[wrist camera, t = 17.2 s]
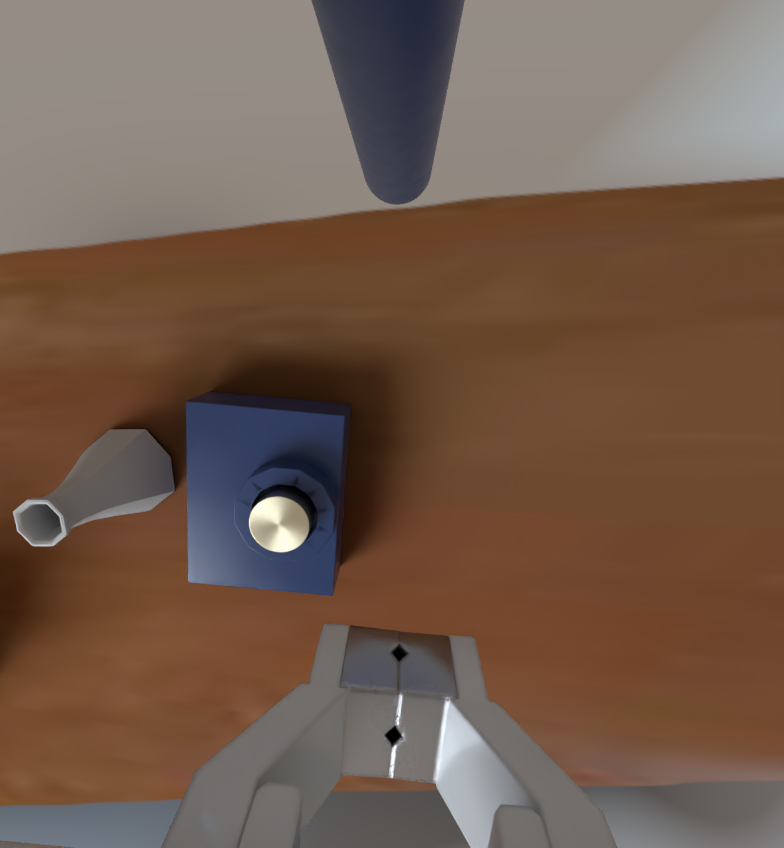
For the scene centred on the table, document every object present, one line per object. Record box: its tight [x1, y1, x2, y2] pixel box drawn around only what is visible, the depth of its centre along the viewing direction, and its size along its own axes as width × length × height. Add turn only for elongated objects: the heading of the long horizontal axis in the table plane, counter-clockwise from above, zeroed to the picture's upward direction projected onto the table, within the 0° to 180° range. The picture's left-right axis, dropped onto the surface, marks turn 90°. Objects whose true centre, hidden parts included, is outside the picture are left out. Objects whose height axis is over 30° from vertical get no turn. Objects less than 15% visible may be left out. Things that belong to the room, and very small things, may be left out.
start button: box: [249, 487, 314, 552], centre depth 32 cm, size 4×4×2 cm
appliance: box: [186, 391, 351, 596], centre depth 35 cm, size 14×11×6 cm
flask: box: [13, 429, 175, 546], centre depth 34 cm, size 7×7×10 cm
